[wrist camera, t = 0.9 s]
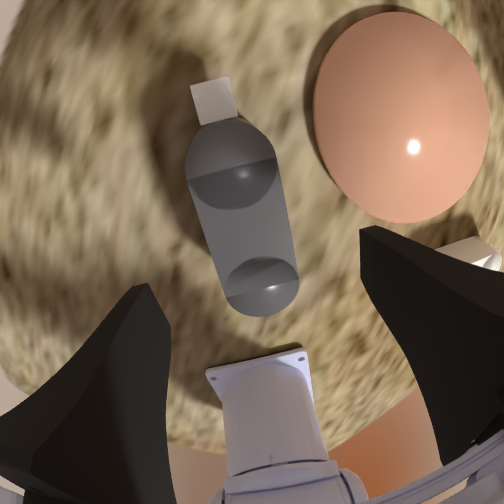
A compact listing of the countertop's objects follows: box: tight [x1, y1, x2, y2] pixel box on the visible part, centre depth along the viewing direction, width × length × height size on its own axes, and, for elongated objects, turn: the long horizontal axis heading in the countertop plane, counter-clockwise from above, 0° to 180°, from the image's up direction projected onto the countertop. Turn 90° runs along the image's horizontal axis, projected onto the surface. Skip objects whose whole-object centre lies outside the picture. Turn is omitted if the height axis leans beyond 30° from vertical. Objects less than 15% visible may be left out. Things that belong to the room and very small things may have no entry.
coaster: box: [312, 12, 489, 223], centre depth 14 cm, size 13×13×1 cm
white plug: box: [434, 236, 502, 271], centre depth 19 cm, size 9×3×3 cm, turn 102°
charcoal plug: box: [185, 76, 299, 317], centre depth 14 cm, size 11×4×4 cm, turn 13°
